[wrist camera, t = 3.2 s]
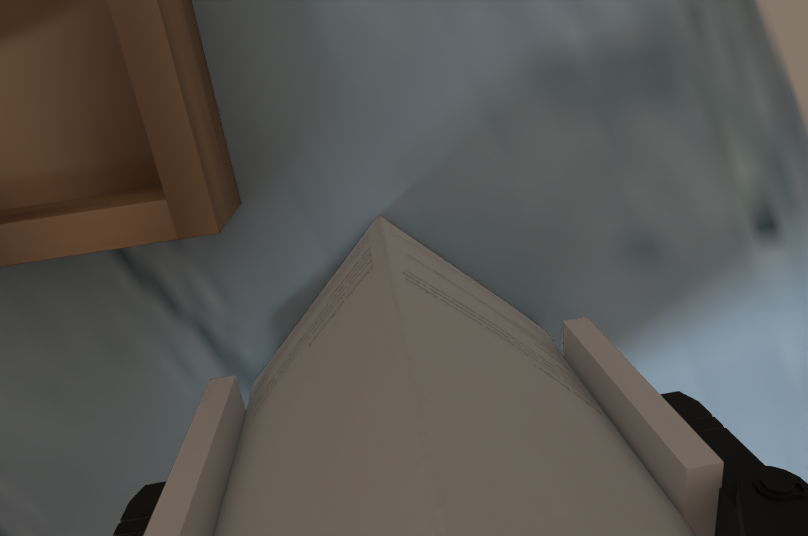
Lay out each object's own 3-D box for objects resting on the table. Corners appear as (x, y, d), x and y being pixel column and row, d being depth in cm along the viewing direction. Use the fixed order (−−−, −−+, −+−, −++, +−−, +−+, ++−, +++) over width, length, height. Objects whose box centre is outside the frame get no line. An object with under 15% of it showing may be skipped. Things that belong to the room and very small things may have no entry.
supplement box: (246, 382, 18) (69, 958, 7) (378, 207, 17) (459, 557, 5) (419, 478, 20) (519, 1042, 9) (552, 331, 19) (897, 782, 7)
